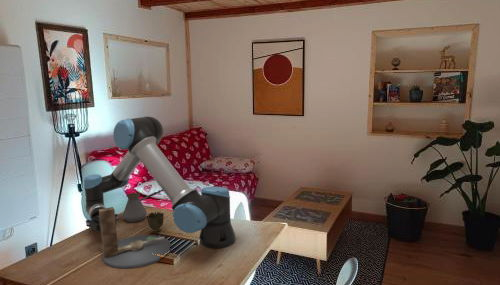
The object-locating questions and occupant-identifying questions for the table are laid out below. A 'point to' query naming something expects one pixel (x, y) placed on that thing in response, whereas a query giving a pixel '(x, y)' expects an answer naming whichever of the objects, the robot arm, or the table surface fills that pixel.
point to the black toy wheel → (155, 221)
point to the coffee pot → (135, 207)
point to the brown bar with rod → (115, 235)
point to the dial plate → (138, 252)
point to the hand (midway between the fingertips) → (109, 232)
